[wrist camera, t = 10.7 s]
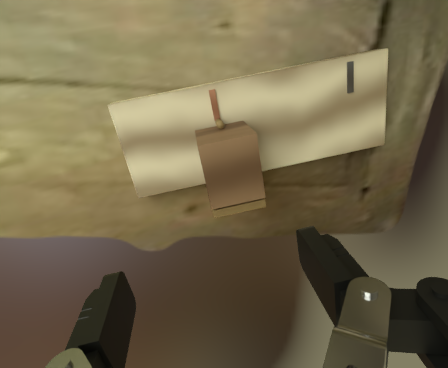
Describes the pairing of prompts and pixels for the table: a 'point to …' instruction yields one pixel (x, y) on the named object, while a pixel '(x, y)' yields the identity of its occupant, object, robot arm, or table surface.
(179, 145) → the board
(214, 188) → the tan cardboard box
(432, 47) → the table surface
